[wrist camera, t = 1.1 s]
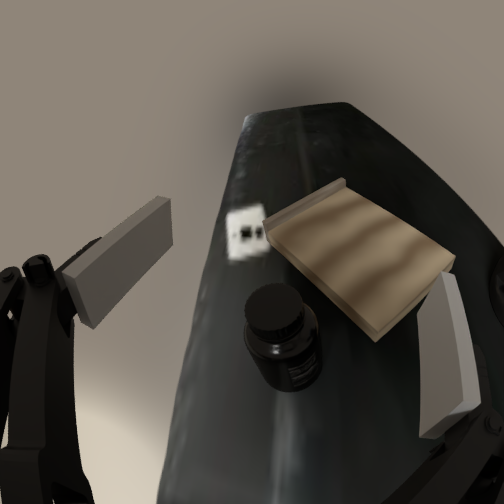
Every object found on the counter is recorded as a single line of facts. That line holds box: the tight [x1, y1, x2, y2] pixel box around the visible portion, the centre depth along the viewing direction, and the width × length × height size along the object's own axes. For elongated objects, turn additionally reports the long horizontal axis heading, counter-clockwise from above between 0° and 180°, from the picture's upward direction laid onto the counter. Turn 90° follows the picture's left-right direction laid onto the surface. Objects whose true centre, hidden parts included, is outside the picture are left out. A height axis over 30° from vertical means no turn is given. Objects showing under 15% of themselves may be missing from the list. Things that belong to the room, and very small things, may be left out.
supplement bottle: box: [244, 283, 322, 392], centre depth 28 cm, size 7×7×12 cm
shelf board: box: [262, 177, 455, 342], centre depth 40 cm, size 23×16×4 cm
